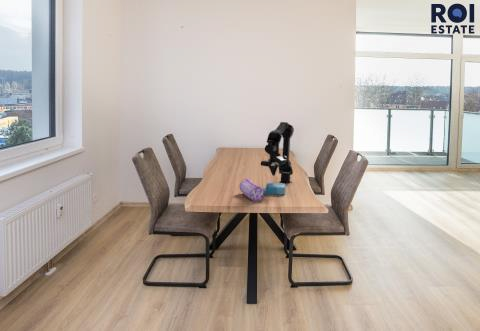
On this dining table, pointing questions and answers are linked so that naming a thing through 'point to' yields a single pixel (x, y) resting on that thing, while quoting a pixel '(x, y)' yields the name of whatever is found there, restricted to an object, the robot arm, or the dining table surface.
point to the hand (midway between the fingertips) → (273, 175)
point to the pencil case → (251, 190)
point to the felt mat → (265, 191)
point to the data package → (275, 188)
